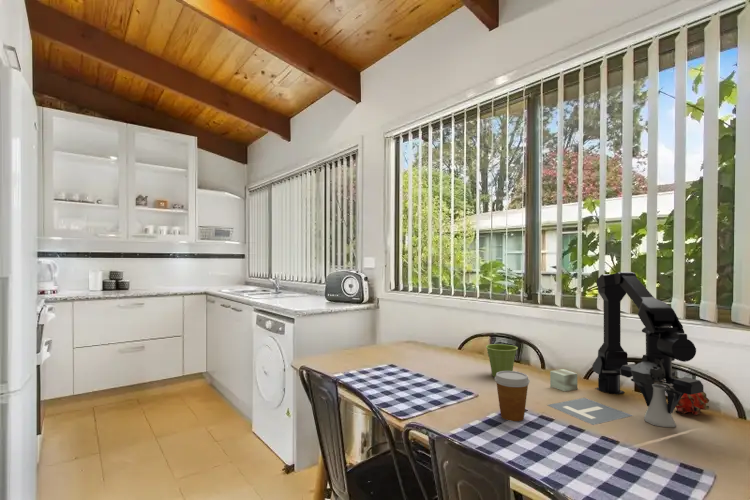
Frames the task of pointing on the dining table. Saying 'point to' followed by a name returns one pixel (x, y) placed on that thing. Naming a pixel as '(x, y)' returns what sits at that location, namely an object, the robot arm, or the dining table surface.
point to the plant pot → (501, 357)
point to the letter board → (589, 411)
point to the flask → (659, 408)
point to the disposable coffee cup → (512, 394)
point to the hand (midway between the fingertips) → (659, 409)
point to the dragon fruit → (692, 403)
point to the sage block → (563, 380)
